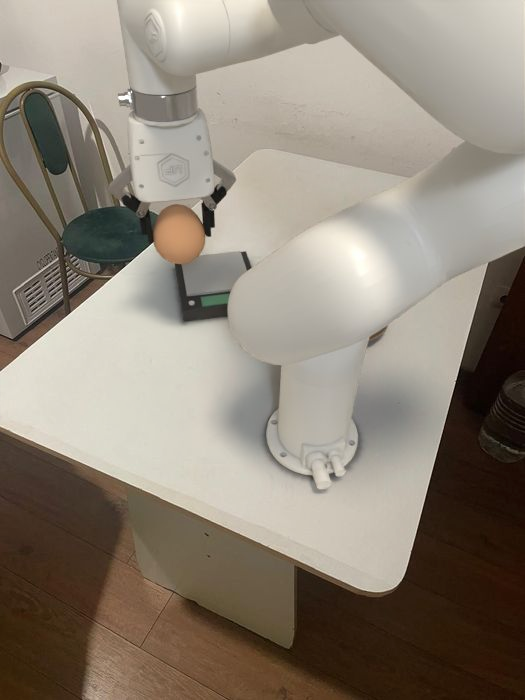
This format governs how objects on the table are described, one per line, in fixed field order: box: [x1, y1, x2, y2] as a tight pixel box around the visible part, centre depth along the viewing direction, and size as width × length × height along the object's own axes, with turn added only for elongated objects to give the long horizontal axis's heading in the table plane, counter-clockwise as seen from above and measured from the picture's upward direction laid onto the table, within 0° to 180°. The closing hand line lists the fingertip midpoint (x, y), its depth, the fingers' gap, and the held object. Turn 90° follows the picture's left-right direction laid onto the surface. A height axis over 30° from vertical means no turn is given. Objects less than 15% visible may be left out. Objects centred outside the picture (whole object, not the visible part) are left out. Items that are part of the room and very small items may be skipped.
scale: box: [174, 250, 252, 323], centre depth 94 cm, size 16×14×3 cm
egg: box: [152, 203, 207, 264], centre depth 72 cm, size 7×7×8 cm
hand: (179, 234), depth 72 cm, fingers closed on egg, 7 cm apart
